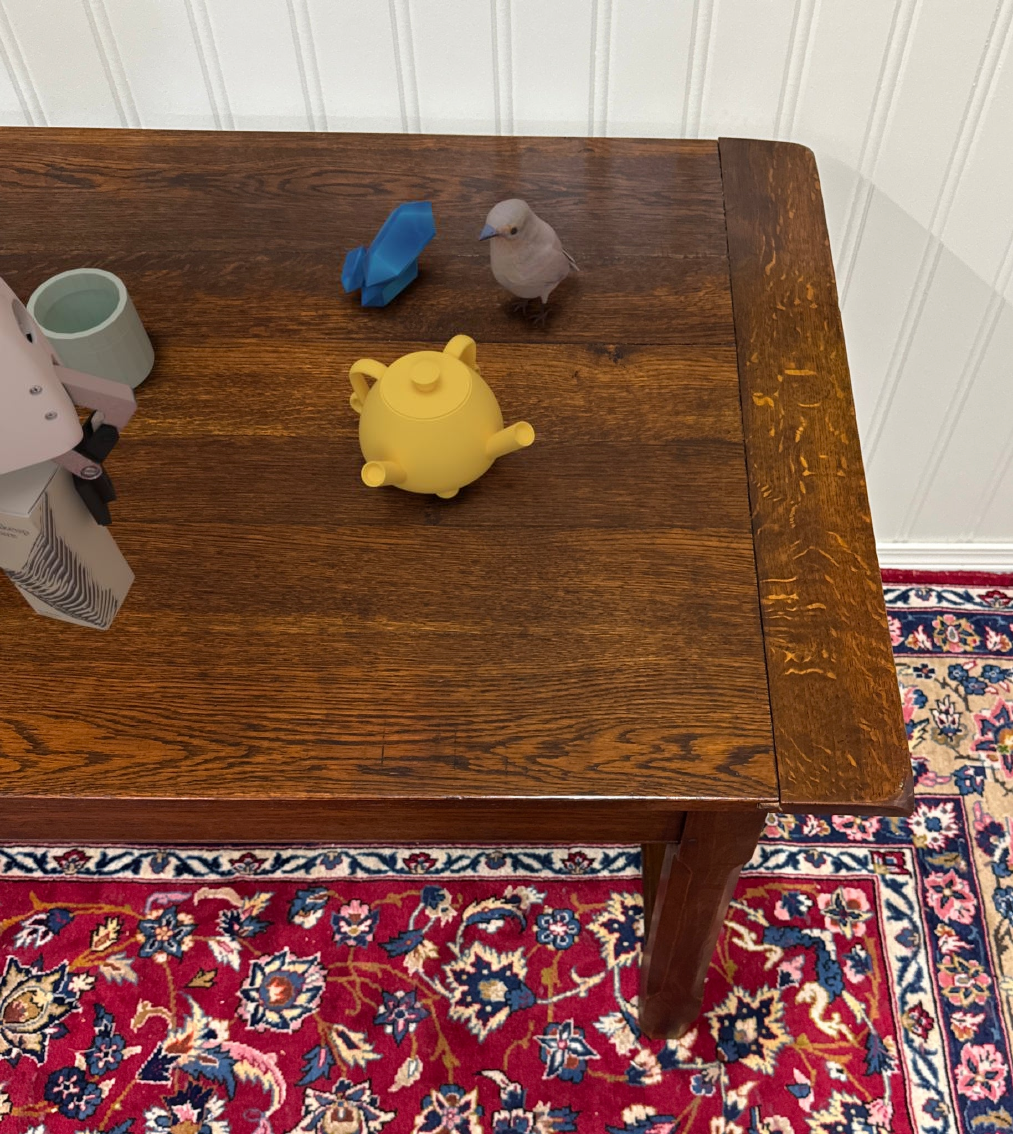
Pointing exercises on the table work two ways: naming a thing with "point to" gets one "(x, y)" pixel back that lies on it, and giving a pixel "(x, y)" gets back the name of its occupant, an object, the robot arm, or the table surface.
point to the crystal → (390, 255)
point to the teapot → (430, 421)
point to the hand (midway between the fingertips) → (39, 524)
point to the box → (59, 548)
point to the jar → (93, 325)
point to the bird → (525, 253)
